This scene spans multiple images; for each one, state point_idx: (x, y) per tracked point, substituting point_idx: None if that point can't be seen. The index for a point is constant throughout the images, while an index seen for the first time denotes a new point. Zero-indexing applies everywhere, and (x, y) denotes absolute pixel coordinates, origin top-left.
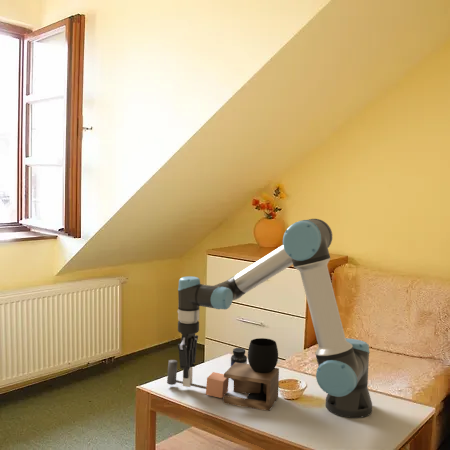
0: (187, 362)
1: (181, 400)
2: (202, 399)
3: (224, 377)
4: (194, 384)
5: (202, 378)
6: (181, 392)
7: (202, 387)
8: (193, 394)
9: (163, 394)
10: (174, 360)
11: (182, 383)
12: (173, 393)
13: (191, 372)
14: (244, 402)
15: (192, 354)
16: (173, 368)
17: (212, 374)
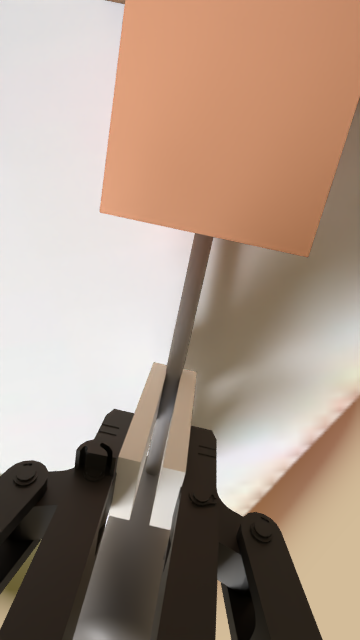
0: (263, 603)
1: (345, 383)
2: (324, 254)
3: (233, 6)
4: (181, 350)
5: None
6: (221, 400)
7: (201, 284)
8: (242, 327)
9: (263, 481)
10: (80, 637)
11: (169, 425)
12: (242, 438)
13: (150, 428)
14: None
15: (46, 633)
16: (160, 579)
17: (179, 207)
